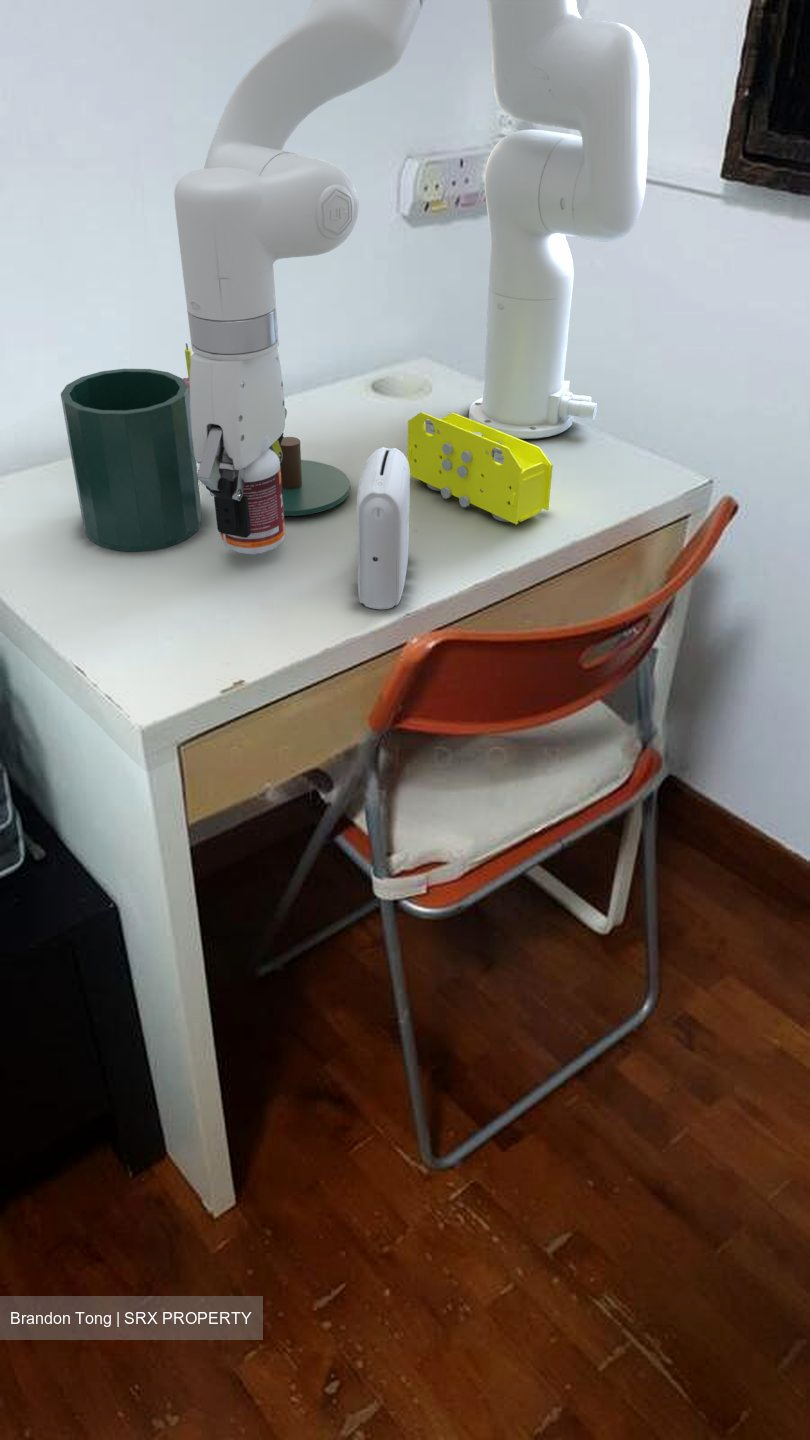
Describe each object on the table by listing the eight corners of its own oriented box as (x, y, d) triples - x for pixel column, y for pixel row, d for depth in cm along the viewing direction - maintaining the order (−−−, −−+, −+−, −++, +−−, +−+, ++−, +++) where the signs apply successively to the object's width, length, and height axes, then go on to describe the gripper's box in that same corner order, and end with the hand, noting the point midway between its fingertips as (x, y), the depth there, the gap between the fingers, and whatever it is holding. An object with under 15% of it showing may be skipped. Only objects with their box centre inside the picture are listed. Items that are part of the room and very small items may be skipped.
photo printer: (401, 612, 103) (403, 485, 96) (354, 609, 103) (352, 482, 96) (411, 557, 111) (413, 436, 104) (367, 555, 111) (366, 434, 104)
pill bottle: (298, 542, 110) (291, 434, 103) (244, 563, 107) (233, 453, 100) (262, 519, 114) (253, 413, 107) (209, 538, 111) (196, 430, 104)
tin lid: (353, 470, 127) (352, 418, 123) (347, 522, 117) (346, 467, 113) (239, 468, 127) (235, 417, 123) (224, 520, 117) (219, 465, 113)
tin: (209, 499, 121) (196, 369, 112) (191, 552, 111) (175, 414, 103) (99, 498, 121) (78, 367, 112) (72, 550, 111) (47, 412, 103)
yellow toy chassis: (404, 482, 125) (404, 408, 120) (441, 467, 128) (443, 395, 123) (512, 533, 115) (518, 455, 110) (549, 516, 119) (556, 439, 114)
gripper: (240, 294, 106) (256, 474, 117) (143, 357, 93) (171, 552, 104) (315, 303, 103) (324, 485, 114) (225, 369, 91) (245, 567, 102)
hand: (251, 515), depth 109 cm, fingers closed on pill bottle, 6 cm apart
